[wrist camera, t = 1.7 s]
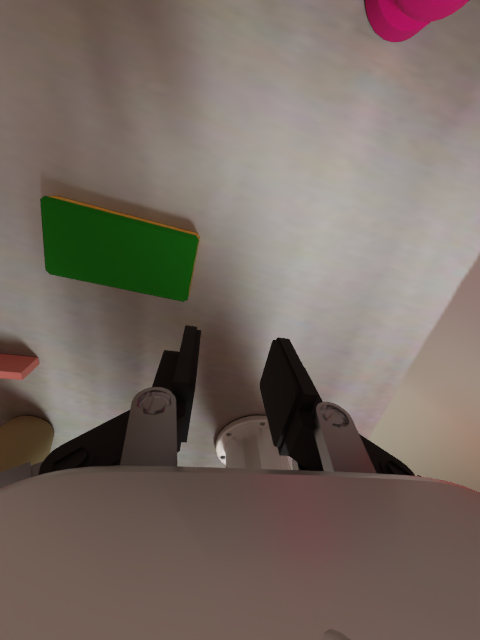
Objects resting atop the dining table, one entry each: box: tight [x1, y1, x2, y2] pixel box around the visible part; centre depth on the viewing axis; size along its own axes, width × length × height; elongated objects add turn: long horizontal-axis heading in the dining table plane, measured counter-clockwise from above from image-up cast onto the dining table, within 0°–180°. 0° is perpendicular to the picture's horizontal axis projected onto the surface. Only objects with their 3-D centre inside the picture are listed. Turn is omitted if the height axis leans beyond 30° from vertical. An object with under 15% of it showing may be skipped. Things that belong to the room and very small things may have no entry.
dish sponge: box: [40, 196, 200, 302], centre depth 25 cm, size 7×14×2 cm, turn 75°
